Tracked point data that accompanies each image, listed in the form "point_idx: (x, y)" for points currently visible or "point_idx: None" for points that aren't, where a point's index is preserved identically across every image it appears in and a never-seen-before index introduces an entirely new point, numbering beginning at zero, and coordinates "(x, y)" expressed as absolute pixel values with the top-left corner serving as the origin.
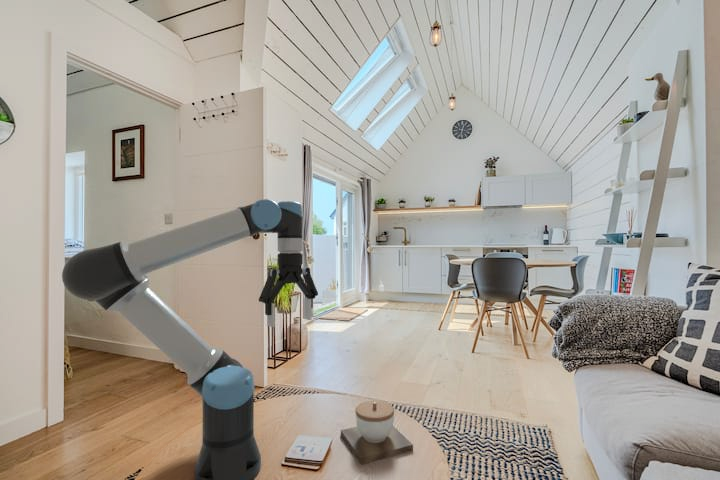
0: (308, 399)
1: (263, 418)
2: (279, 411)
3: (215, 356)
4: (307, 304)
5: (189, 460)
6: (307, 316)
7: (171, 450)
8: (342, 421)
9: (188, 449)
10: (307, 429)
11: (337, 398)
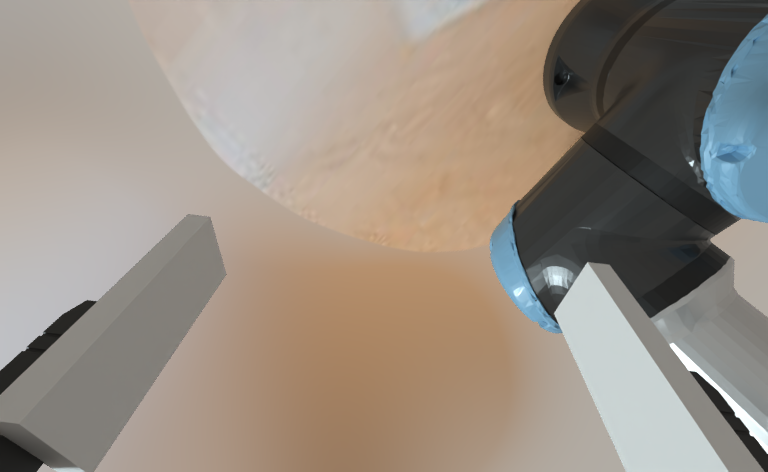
0: (270, 165)
1: (403, 180)
2: (358, 176)
3: (709, 299)
4: (117, 363)
5: None
6: (203, 258)
7: None
8: None
9: None
10: (380, 42)
11: (205, 104)
